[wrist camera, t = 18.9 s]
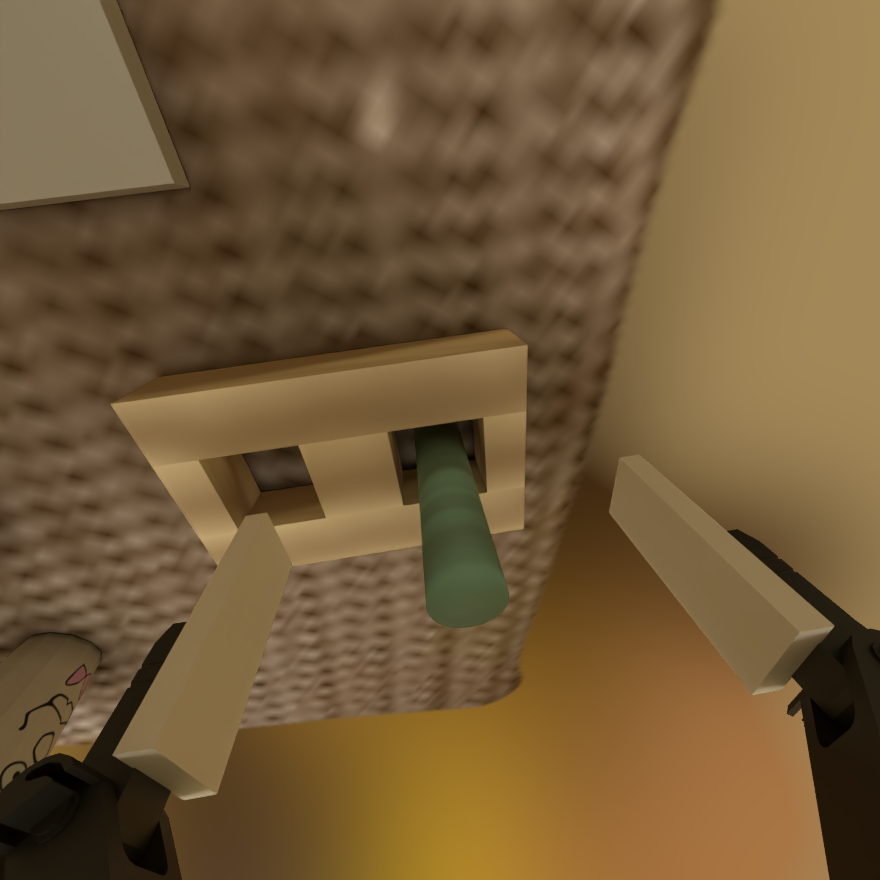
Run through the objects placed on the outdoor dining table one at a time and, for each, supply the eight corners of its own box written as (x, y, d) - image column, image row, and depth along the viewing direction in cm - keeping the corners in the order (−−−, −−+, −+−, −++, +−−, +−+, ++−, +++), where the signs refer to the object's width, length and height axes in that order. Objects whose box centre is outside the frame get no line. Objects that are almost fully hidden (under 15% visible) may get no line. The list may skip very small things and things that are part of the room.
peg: (411, 418, 18) (419, 583, 9) (456, 410, 18) (508, 567, 9) (418, 456, 19) (432, 633, 10) (461, 449, 19) (510, 619, 10)
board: (158, 377, 15) (110, 404, 13) (506, 328, 16) (527, 344, 13) (247, 534, 20) (225, 577, 18) (508, 493, 21) (523, 528, 18)
